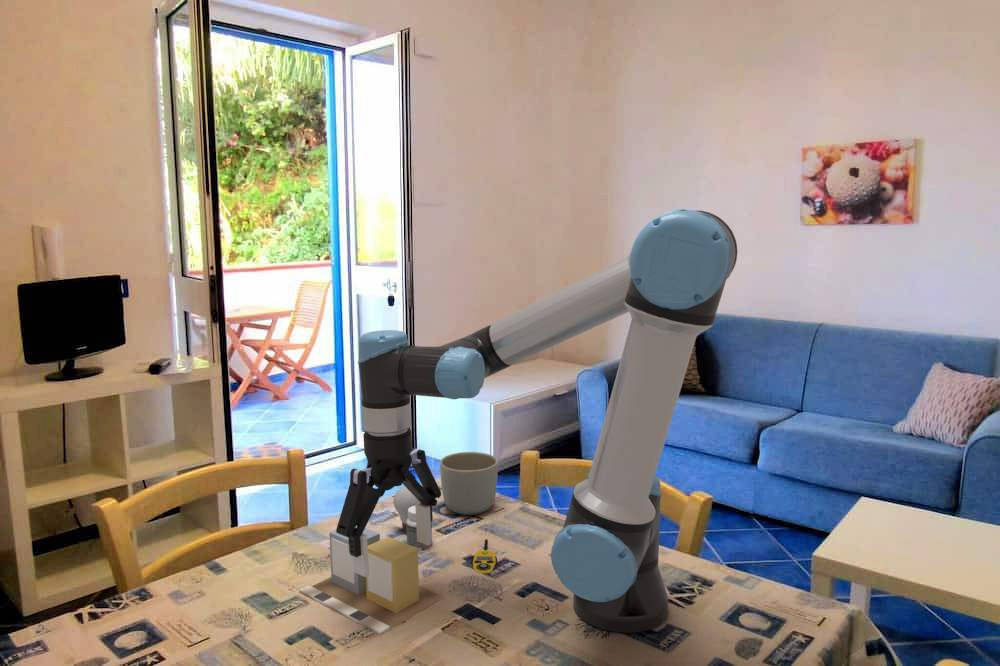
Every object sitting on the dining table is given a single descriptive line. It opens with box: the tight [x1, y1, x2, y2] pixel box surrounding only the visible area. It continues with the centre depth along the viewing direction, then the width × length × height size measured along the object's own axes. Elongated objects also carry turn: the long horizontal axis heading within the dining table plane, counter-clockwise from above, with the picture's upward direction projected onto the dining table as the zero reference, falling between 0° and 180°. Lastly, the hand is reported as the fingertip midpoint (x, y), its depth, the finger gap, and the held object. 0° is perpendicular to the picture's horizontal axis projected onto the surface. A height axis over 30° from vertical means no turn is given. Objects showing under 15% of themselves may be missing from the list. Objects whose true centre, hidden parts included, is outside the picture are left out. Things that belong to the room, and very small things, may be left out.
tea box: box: [366, 536, 420, 613], centre depth 119 cm, size 5×7×9 cm
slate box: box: [328, 525, 381, 595], centre depth 125 cm, size 5×7×9 cm
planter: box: [439, 451, 499, 516], centre depth 159 cm, size 12×12×11 cm
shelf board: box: [298, 576, 445, 636], centre depth 122 cm, size 20×14×2 cm
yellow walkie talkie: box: [470, 538, 499, 574], centre depth 136 cm, size 5×2×15 cm
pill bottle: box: [406, 506, 433, 552], centre depth 139 cm, size 5×5×8 cm
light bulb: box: [392, 485, 421, 532], centre depth 147 cm, size 6×6×10 cm
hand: (394, 557), depth 119 cm, fingers open, 13 cm apart
